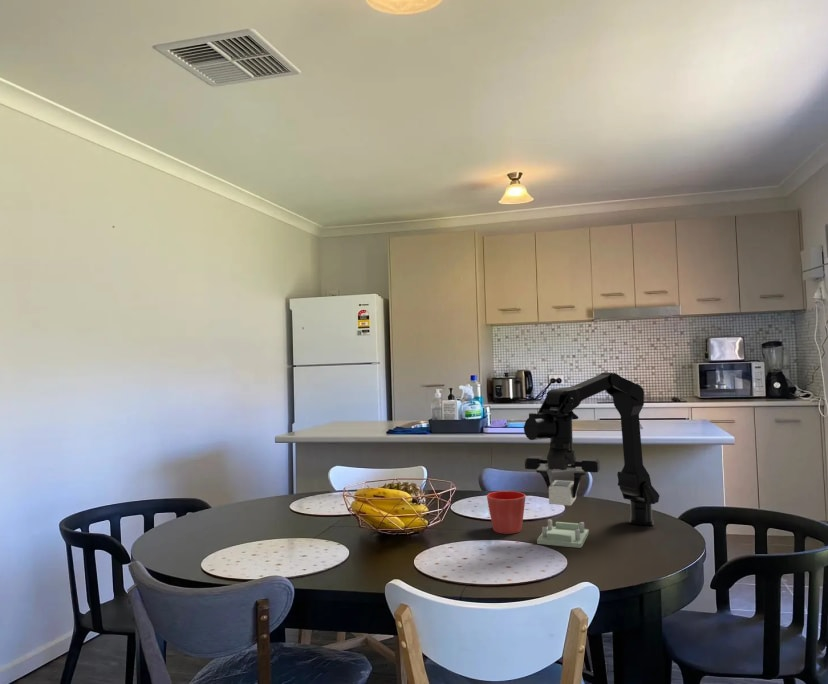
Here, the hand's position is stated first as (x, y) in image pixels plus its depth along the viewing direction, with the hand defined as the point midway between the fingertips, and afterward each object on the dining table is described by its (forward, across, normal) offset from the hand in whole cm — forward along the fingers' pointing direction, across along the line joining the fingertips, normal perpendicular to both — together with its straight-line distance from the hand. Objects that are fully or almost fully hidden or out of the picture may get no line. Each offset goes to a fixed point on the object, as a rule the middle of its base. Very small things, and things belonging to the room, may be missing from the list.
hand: (562, 496), depth 163 cm
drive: (+1, 0, 0) cm, 1 cm away
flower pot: (+11, -16, +3) cm, 20 cm away
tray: (+11, 0, 0) cm, 11 cm away
